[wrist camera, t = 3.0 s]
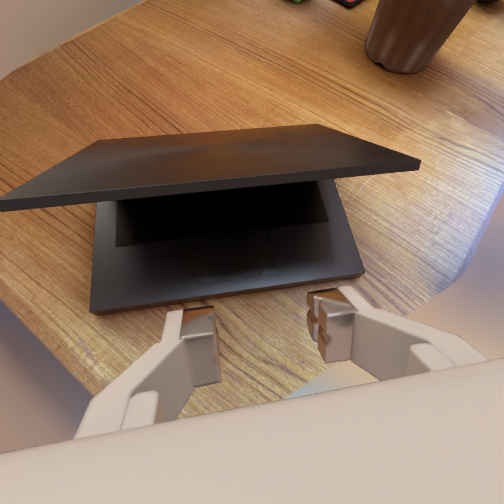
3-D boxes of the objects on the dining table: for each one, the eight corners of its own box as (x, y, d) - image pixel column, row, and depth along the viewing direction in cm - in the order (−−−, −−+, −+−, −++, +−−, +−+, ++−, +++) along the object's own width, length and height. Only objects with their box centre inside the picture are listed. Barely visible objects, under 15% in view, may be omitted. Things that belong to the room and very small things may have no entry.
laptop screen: (418, 171, 22) (421, 159, 21) (1, 213, 18) (-7, 200, 18) (317, 130, 40) (317, 123, 40) (99, 147, 37) (97, 140, 36)
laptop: (359, 277, 33) (365, 272, 32) (97, 315, 30) (88, 312, 28) (313, 140, 42) (317, 129, 40) (105, 157, 38) (99, 146, 37)
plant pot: (456, 79, 50) (550, -45, 35) (373, 87, 48) (435, -42, 33) (417, 25, 56) (482, -100, 41) (342, 30, 54) (382, -100, 39)
